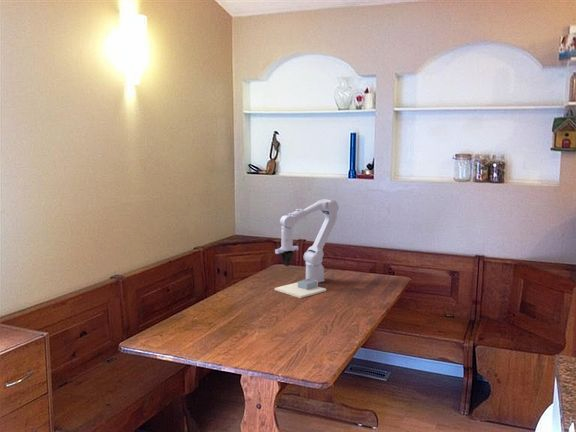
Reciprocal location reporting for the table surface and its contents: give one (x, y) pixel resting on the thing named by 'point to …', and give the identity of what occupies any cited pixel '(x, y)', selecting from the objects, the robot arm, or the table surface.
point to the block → (307, 284)
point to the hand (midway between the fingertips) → (286, 265)
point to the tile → (299, 290)
